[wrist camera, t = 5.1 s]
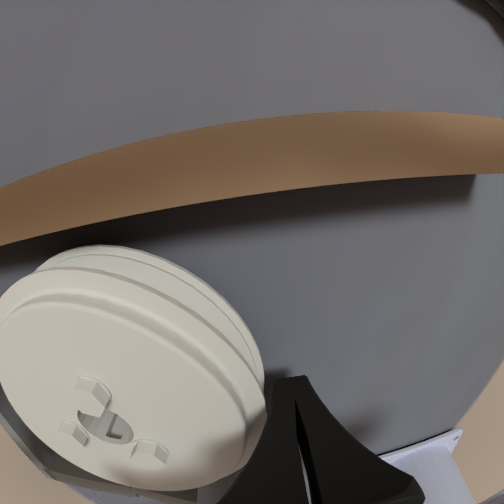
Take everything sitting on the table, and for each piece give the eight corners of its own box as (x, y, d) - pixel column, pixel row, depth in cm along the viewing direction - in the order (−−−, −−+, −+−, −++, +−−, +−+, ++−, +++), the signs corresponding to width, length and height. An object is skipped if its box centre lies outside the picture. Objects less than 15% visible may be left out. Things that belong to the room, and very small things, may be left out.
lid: (251, 448, 16) (253, 517, 11) (61, 416, 16) (33, 470, 11) (278, 248, 12) (297, 313, 7) (9, 230, 12) (-61, 268, 7)
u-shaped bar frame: (431, 431, 17) (447, 461, 14) (66, 458, 17) (54, 485, 15) (475, 120, 10) (520, 121, 7) (-55, 219, 11) (-89, 234, 8)
